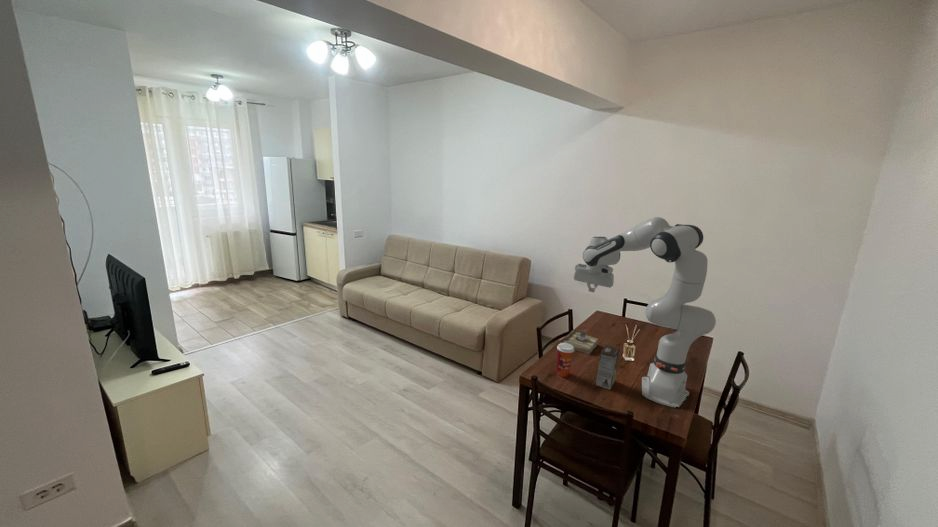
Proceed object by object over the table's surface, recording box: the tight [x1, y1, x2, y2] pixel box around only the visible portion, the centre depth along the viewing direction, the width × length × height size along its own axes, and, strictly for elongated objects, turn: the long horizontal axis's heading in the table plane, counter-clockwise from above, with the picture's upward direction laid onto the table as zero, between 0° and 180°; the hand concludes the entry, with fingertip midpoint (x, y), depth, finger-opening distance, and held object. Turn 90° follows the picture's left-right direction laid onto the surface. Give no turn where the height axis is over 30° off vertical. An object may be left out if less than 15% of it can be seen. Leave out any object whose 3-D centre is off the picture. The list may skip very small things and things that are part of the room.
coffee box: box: [595, 344, 621, 390], centre depth 163 cm, size 9×6×16 cm
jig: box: [563, 329, 599, 355], centre depth 199 cm, size 14×14×5 cm
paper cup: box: [555, 342, 575, 378], centre depth 169 cm, size 8×8×14 cm
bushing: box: [577, 331, 587, 342], centre depth 199 cm, size 4×4×7 cm
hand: (591, 291), depth 198 cm, fingers closed
